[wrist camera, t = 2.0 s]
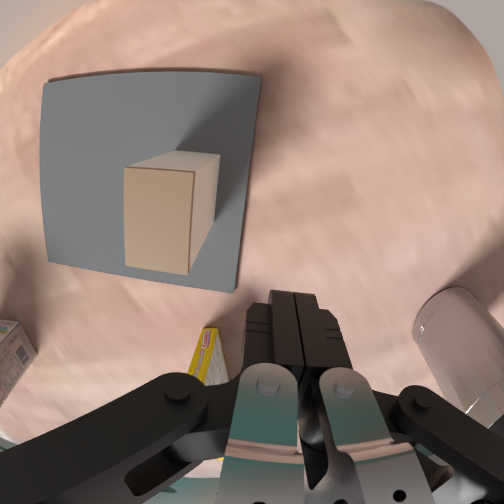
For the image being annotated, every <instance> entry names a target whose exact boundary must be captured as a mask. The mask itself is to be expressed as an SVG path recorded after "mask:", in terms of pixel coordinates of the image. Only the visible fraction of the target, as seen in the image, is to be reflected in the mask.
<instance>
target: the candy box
mask: <svg viewBox="0 0 504 504" xmlns="http://www.w3.org/2000/svg"><path fill="white" fill-rule="evenodd" d="M187 374H190V375H192V376H194V377H196V378H198V379H199V380H200V381H202V382H203V383H204V385H205V386H209V385H218V384H223V383H226V382H229V377H228V373H227V369H226V364H225V359H224V355H223V350H222V345H221V340H220V335H219V331H218V328H203V329H202V332H201V335H200V338H199V341H198V344H197V346H196V349H195V352H194V355H193V358H192V361H191V364H190V367H189V370H188V373H187ZM217 459H218V460H224V457H223V458H217Z"/></svg>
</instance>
